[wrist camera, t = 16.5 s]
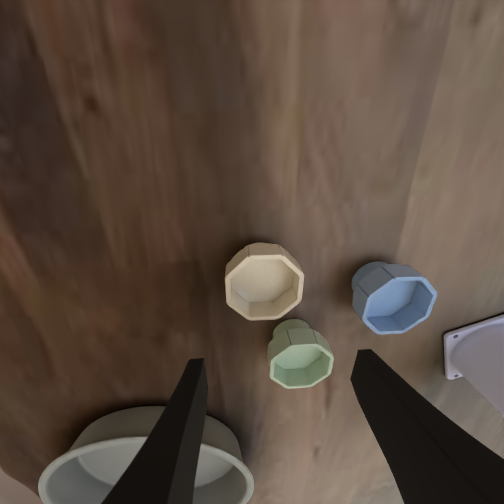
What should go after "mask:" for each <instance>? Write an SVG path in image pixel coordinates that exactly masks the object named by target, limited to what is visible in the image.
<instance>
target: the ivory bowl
mask: <svg viewBox="0 0 504 504" xmlns="http://www.w3.org/2000/svg"><path fill="white" fill-rule="evenodd" d="M303 283H304V274H303V272H302V270H301V268H300V266H299V264H298V262H297V261H296V260H295V259H294V258H293V257H292V256H291V255H290V254H289V253H288V252H287V251H286V250H285V249H283V248H282V247H281V246H280V245H278V244H269V243H261V242H260V243H253V244H251V245H248V246H245V247H244V248H243V249H242V250H240V251H239V252H238V253H237V254H236V255H235V256H234V257H233V258H232V260H231V261H230V262H229V263H228V264H227V266H226V272H225V287H226V303H228V306H230V307H231V308H232V309H234V310H235V311H237V312H238V313H239V314H241V315H242V316H244V317H245V318H246V319H248V320H249V319H250V320H271V319H278V318H281V317H282V316H283V315H285V314H286V313H287V312H288V311H290V310H291V309H292V308H293V307H295V306H296V305H297V304H299V303H300V302H301V301H300V300H302V292H303Z"/></svg>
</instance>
